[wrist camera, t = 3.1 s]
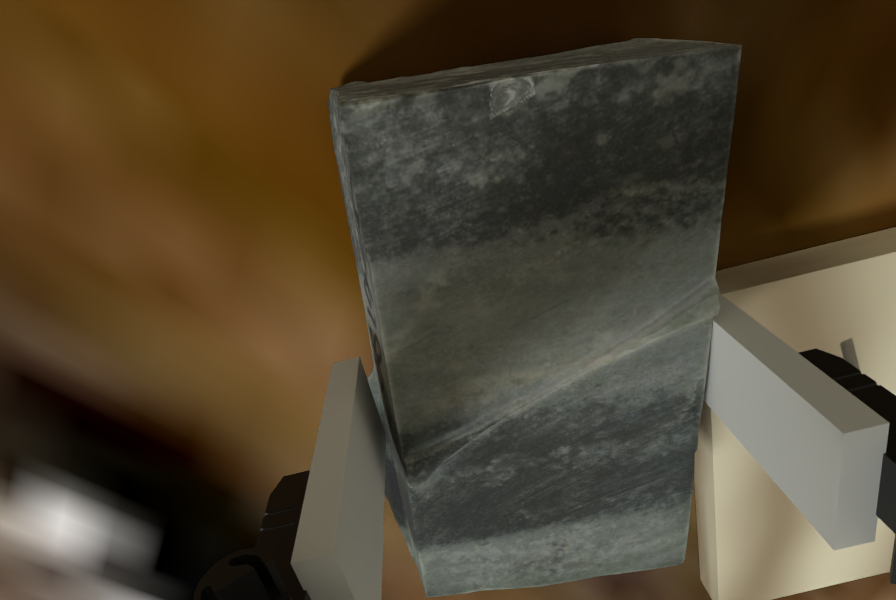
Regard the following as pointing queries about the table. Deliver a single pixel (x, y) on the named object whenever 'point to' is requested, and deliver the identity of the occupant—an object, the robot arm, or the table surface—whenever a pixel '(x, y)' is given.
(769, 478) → the board
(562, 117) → the stone block
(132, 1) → the table surface
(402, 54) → the table surface
